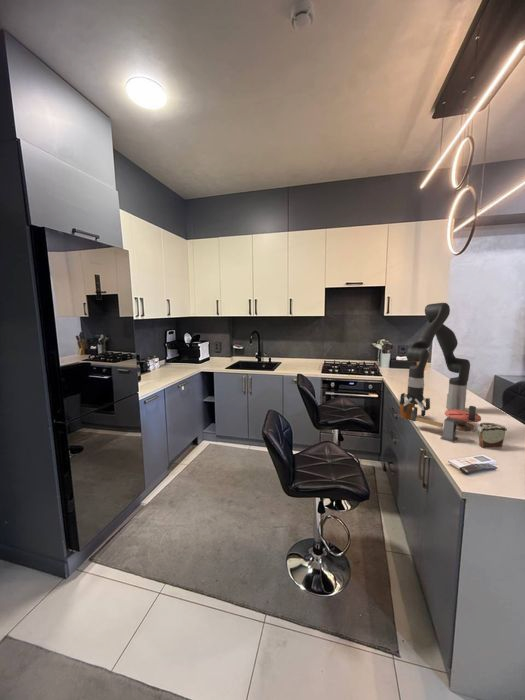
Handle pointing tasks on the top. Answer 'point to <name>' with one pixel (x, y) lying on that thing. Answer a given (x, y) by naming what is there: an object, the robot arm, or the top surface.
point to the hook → (415, 418)
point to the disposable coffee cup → (409, 409)
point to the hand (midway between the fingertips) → (414, 414)
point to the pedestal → (465, 427)
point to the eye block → (449, 430)
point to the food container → (491, 435)
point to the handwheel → (464, 415)
